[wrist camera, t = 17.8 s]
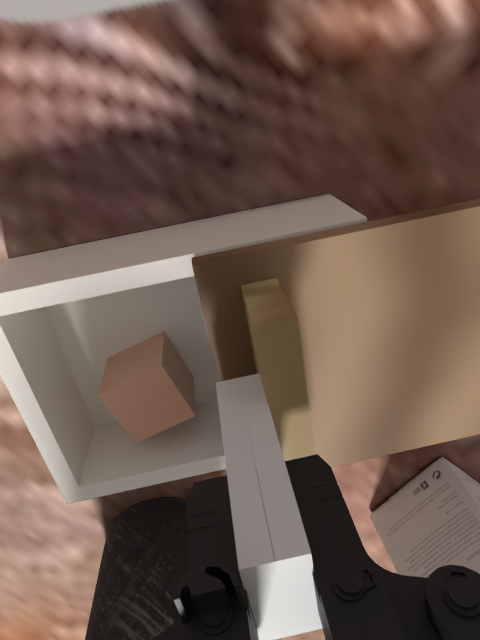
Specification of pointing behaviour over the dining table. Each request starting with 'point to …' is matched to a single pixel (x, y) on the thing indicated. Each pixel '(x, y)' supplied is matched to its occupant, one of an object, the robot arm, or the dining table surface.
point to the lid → (355, 331)
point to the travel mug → (140, 572)
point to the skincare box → (432, 521)
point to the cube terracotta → (148, 388)
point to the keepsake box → (126, 341)
